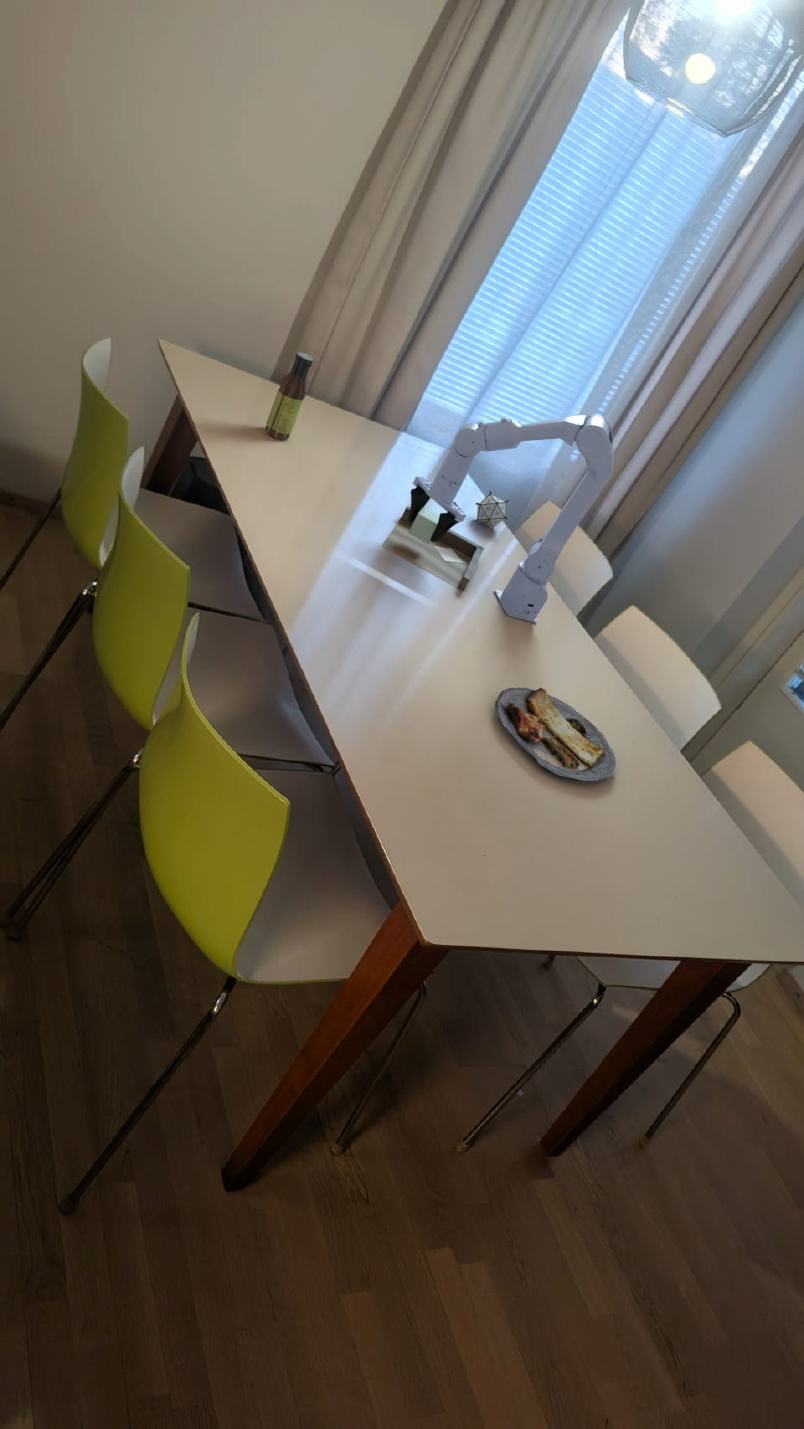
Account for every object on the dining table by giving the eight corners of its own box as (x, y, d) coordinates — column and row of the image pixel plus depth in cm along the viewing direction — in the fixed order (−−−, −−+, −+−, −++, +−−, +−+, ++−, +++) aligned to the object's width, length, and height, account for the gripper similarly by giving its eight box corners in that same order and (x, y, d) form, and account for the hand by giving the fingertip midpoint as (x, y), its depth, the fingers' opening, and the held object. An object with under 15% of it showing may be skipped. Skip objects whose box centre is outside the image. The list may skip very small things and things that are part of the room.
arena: (461, 595, 225) (469, 580, 223) (379, 550, 224) (387, 534, 222) (476, 562, 242) (484, 548, 240) (400, 520, 241) (407, 505, 239)
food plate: (469, 702, 191) (478, 688, 189) (541, 688, 208) (550, 675, 206) (560, 800, 180) (571, 786, 178) (628, 777, 198) (638, 764, 196)
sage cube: (428, 544, 227) (438, 524, 225) (408, 533, 227) (418, 513, 224) (432, 536, 232) (443, 517, 229) (413, 525, 231) (422, 506, 229)
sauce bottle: (293, 440, 250) (325, 364, 239) (277, 442, 245) (310, 364, 234) (273, 425, 251) (304, 349, 241) (257, 427, 246) (288, 349, 236)
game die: (479, 540, 263) (492, 523, 254) (462, 512, 264) (474, 493, 255) (507, 527, 266) (521, 509, 257) (490, 499, 267) (503, 480, 258)
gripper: (484, 496, 222) (456, 549, 229) (439, 458, 228) (412, 511, 235) (465, 496, 216) (436, 551, 224) (419, 458, 222) (392, 512, 229)
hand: (422, 530), depth 229 cm, fingers closed on sage cube, 7 cm apart
